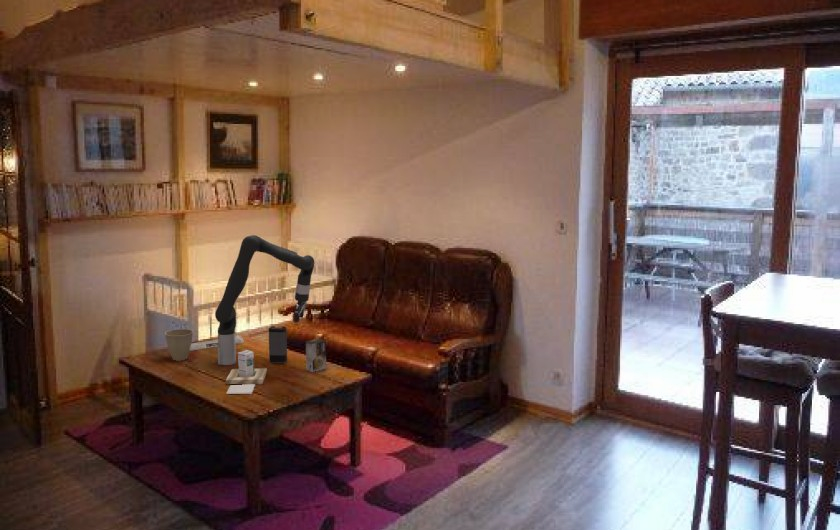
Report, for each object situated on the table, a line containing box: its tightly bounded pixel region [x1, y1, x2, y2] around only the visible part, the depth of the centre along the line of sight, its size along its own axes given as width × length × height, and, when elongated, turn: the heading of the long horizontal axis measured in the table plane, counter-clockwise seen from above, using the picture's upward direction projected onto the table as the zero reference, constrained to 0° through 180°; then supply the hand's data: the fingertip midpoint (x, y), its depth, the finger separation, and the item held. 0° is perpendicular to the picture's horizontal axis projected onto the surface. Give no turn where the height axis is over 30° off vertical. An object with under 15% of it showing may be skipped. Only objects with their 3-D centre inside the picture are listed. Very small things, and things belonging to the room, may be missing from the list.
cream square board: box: [225, 367, 268, 385], centre depth 346 cm, size 18×18×2 cm
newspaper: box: [190, 334, 245, 352], centre depth 408 cm, size 35×12×4 cm, turn 124°
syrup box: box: [237, 349, 255, 377], centre depth 345 cm, size 6×6×14 cm
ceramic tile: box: [225, 384, 256, 395], centre depth 328 cm, size 12×12×1 cm
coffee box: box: [305, 338, 327, 373], centre depth 361 cm, size 9×6×16 cm
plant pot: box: [164, 328, 194, 362], centre depth 377 cm, size 15×15×16 cm
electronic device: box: [268, 325, 288, 364], centre depth 373 cm, size 9×6×20 cm, turn 84°
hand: (298, 319), depth 366 cm, fingers open, 8 cm apart
